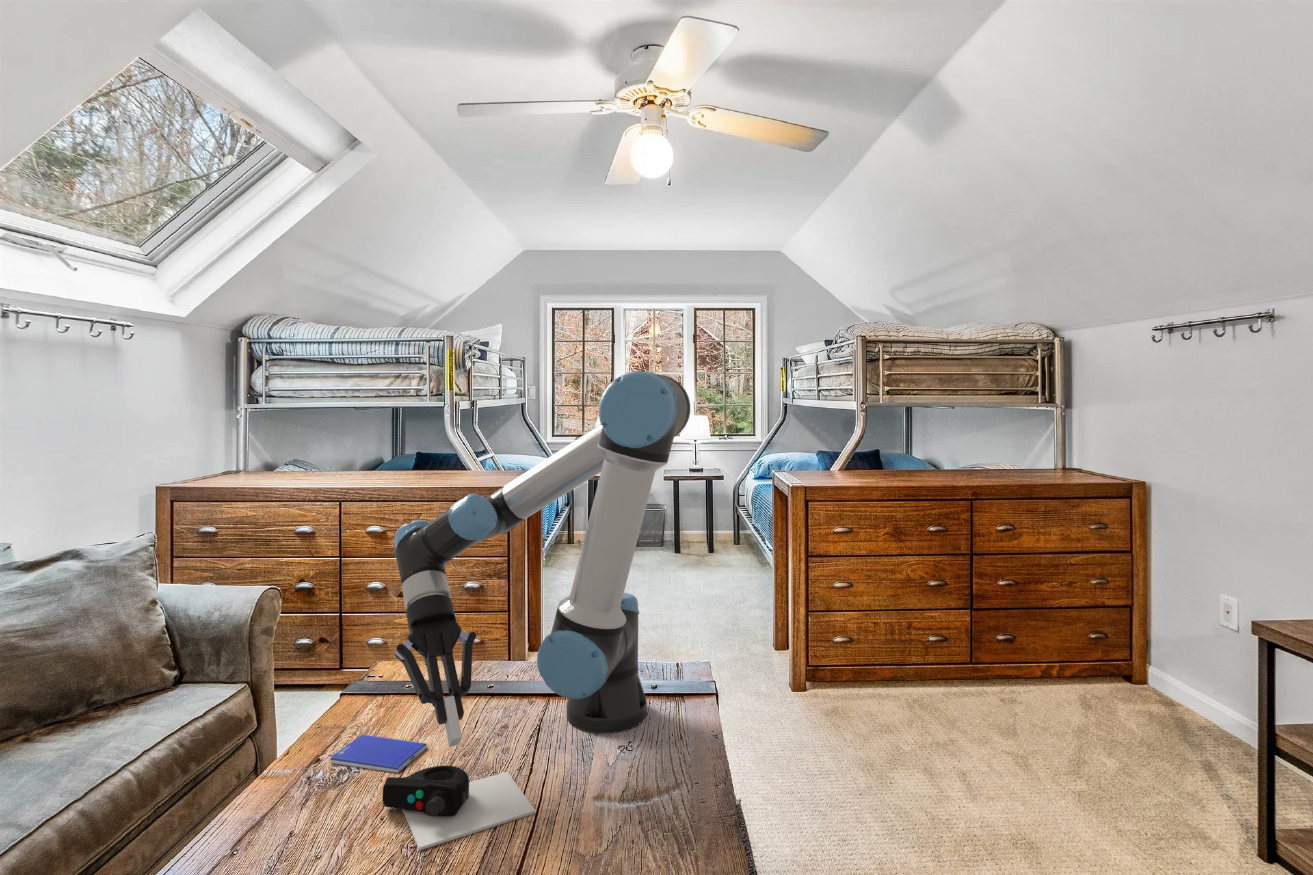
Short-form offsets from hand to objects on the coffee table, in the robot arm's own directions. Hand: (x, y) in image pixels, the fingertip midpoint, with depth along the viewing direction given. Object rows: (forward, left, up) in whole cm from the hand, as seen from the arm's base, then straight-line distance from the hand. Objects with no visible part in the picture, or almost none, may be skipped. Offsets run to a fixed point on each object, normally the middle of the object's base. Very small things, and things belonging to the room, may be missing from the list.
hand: (455, 741), depth 102 cm
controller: (+1, -2, -6) cm, 6 cm away
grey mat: (0, +5, -8) cm, 9 cm away
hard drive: (+8, -17, -8) cm, 21 cm away
